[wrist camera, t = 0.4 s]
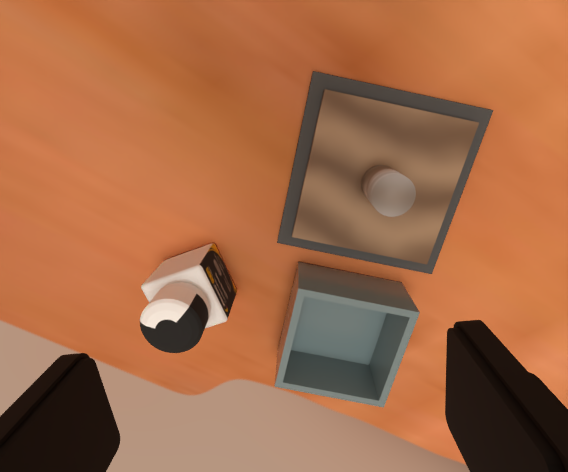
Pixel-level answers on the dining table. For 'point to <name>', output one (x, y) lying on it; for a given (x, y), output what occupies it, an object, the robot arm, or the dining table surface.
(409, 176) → the walnut lid
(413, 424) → the dining table surface
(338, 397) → the grey ceramic box
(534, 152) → the dining table surface
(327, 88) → the rubber mat
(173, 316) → the medicine bottle
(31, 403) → the robot arm
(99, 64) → the dining table surface
